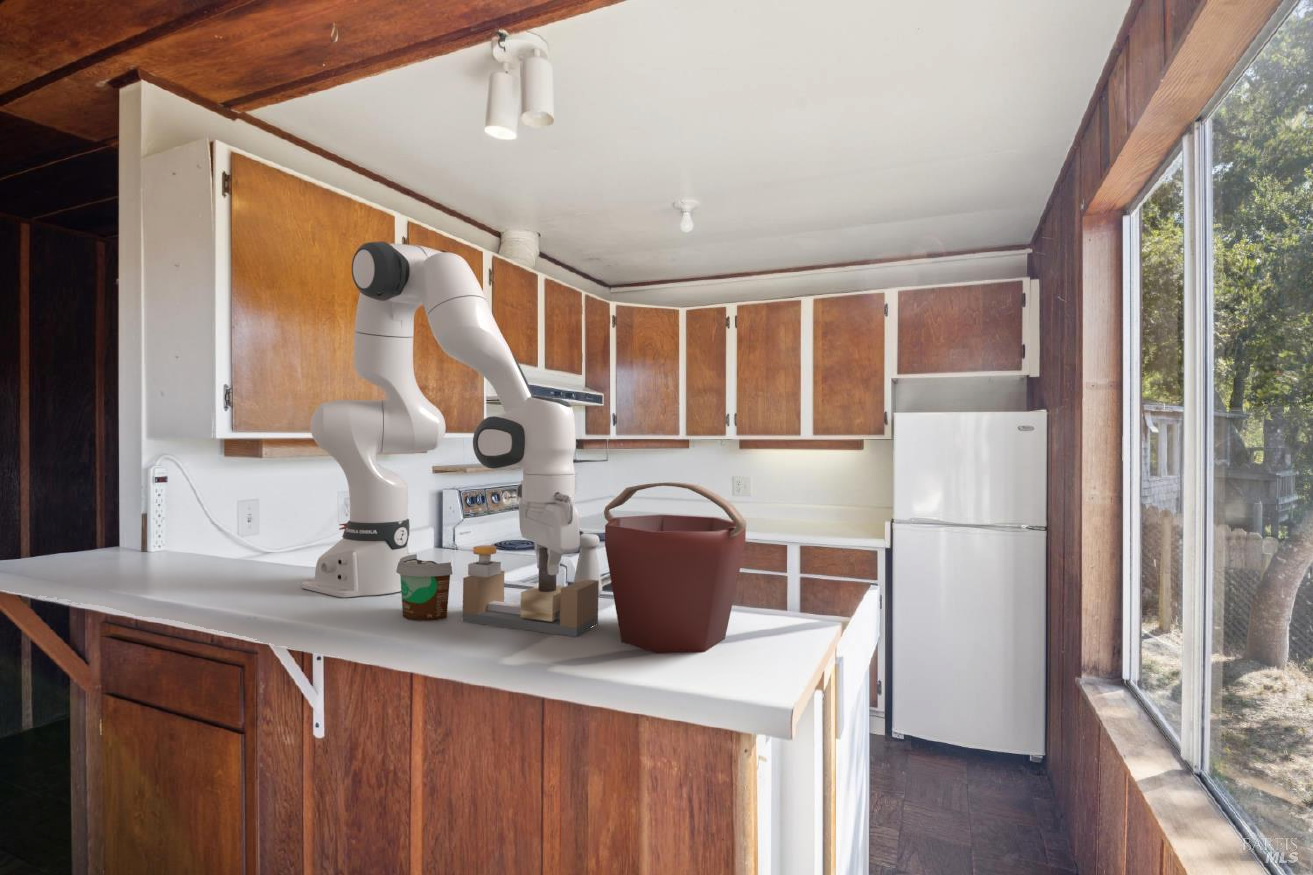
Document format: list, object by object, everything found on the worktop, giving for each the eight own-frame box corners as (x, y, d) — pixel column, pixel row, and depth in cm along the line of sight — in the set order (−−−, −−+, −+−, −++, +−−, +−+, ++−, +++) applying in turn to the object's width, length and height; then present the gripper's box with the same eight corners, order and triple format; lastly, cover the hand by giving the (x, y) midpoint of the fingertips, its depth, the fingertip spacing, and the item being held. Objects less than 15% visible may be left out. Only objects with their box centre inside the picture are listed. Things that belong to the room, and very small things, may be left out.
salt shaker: (597, 604, 125) (598, 537, 125) (568, 602, 126) (569, 535, 126) (605, 597, 131) (606, 533, 131) (578, 595, 132) (579, 531, 132)
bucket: (572, 633, 106) (574, 481, 106) (662, 609, 123) (664, 476, 123) (686, 672, 90) (690, 491, 90) (773, 637, 106) (776, 484, 106)
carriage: (520, 617, 109) (521, 550, 109) (542, 607, 115) (543, 544, 115) (552, 621, 107) (553, 553, 107) (572, 611, 113) (573, 546, 113)
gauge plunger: (468, 565, 114) (468, 548, 114) (481, 561, 118) (482, 544, 118) (487, 567, 113) (487, 549, 113) (500, 563, 117) (501, 546, 117)
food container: (382, 613, 116) (383, 557, 116) (413, 607, 121) (415, 553, 121) (418, 627, 108) (420, 567, 108) (451, 620, 113) (452, 562, 113)
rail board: (460, 620, 112) (461, 565, 112) (487, 609, 120) (488, 558, 120) (576, 636, 105) (577, 577, 105) (597, 624, 112) (598, 568, 112)
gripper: (590, 495, 104) (588, 582, 104) (546, 486, 121) (545, 560, 121) (552, 496, 100) (551, 585, 100) (513, 486, 118) (512, 562, 118)
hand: (547, 571), depth 111 cm, fingers closed on carriage, 3 cm apart
